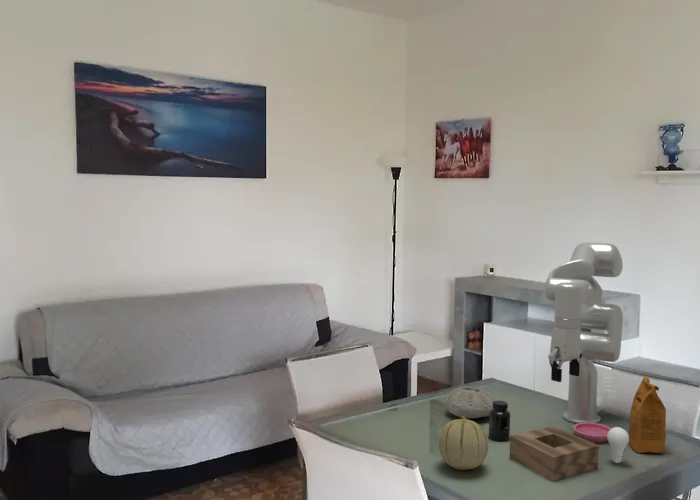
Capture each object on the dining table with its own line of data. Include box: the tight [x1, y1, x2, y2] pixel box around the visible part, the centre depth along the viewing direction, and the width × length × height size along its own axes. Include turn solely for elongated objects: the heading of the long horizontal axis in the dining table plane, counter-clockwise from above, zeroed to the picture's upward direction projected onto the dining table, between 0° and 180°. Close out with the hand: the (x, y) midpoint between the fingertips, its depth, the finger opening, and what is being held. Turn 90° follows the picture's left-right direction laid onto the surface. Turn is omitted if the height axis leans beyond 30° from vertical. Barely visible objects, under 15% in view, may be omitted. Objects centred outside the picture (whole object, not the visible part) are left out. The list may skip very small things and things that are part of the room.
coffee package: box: [628, 376, 667, 454], centre depth 209 cm, size 10×12×22 cm
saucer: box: [572, 423, 612, 444], centre depth 218 cm, size 12×12×3 cm
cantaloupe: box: [438, 415, 489, 471], centre depth 194 cm, size 15×15×15 cm
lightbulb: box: [607, 426, 629, 464], centre depth 197 cm, size 6×6×11 cm
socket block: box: [509, 425, 600, 482], centre depth 197 cm, size 18×18×7 cm
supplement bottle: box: [488, 400, 511, 442], centre depth 217 cm, size 7×7×12 cm
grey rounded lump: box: [445, 385, 496, 420], centre depth 238 cm, size 18×18×10 cm
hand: (565, 378), depth 202 cm, fingers open, 9 cm apart
